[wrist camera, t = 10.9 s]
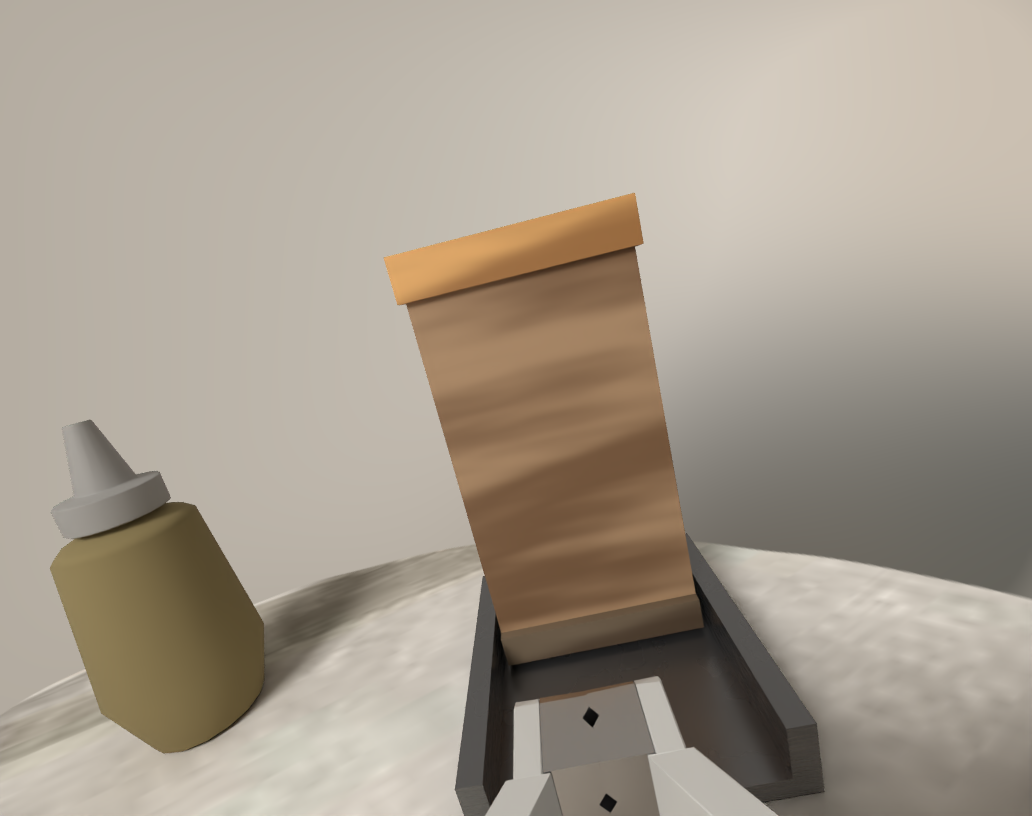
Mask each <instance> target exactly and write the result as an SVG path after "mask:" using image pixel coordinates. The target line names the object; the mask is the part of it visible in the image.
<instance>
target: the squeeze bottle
mask: <svg viewBox="0 0 1032 816" xmlns="http://www.w3.org/2000/svg"><path fill="white" fill-rule="evenodd" d="M62 431H63V437H64V443H65V449H66V454H67V460H68V466H69V471H70V477H71V483H72V488H73V494H74V497H72V498H69V499H67V500H65V501H63V502H61V503H59V504H58V505H56V506H54V507H53V509H52V510H51V514H52V516H53V518H54V519H55V522H56V524H57V526H58V528H59V530H60V532H61V534H62V536H63V538H68V539H74V540H73V541H71V542H70V543H69V544H67V545H66V546H65V547H63V548H62V549H61V550H60V552H59V553H58V555H57V556H56V558H55V560H54V561H53V563H52V565H51V567H50V570H51V573H52V575H53V578H54V581H55V584H56V587H57V590H58V592H59V595H60V598H61V601H62V604H63V607H64V609H65V612H66V615H67V618H68V620H69V624H70V626H71V629H72V632H73V635H74V637H75V640H76V643H77V646H78V649H79V652H80V654H81V657H82V660H83V663H84V666H85V669H86V671H87V674H88V677H89V680H90V683H91V685H92V688H93V691H94V694H95V697H96V700H97V702H98V705H99V708H100V711H101V714H103V715H104V716H106V717H107V718H109V719H111V720H112V721H114V722H115V723H117V724H118V725H120V726H121V727H123V728H124V729H126V730H127V731H129V732H130V733H132V734H133V735H135V736H136V737H138V738H139V739H141V740H142V741H144V742H145V743H147V744H148V745H150V746H151V747H153V748H155V749H156V750H158V751H160V752H162V753H172V752H181V751H184V750H187V749H189V748H192V747H194V746H196V745H199V744H201V743H204V742H206V741H207V740H209V739H211V738H212V737H214V736H215V735H217V734H218V733H220V732H221V731H223V730H224V729H226V728H228V727H229V726H230V725H231V724H232V723H233V722H235V721H236V720H237V719H238V718H239V717H240V716H241V715H242V714H243V713H244V712H246V711H247V710H248V709H249V707H250V706H251V705H252V703H253V702H254V700H255V699H256V698H257V696H258V695H259V694H260V692H261V689H262V685H263V682H264V623H263V621H262V619H261V617H260V615H259V614H258V612H257V610H256V608H255V607H254V605H253V603H252V602H251V600H250V598H249V597H248V595H247V593H246V591H245V590H244V588H243V586H242V585H241V583H240V581H239V579H238V578H237V576H236V574H235V572H234V571H233V569H232V567H231V566H230V564H229V562H228V560H227V559H226V557H225V555H224V554H223V552H222V550H221V548H220V547H219V545H218V543H217V542H216V540H215V538H214V537H213V535H212V533H211V532H210V530H209V528H208V526H207V524H206V523H205V521H204V519H203V518H202V516H201V514H200V513H199V511H198V509H197V507H196V506H195V505H192V504H188V503H184V502H171V503H166V502H167V501H168V500H170V498H171V497H170V494H169V492H168V490H167V488H166V486H165V483H164V481H163V479H162V476H161V474H160V472H158V471H152V472H146V473H141V474H135V473H134V472H133V471H132V469H131V468H130V467H129V466H128V464H127V463H126V462H125V461H124V459H123V458H122V457H121V456H120V455H119V453H118V452H117V451H116V450H115V448H114V447H113V446H112V445H111V443H110V442H109V441H108V440H107V438H106V437H105V436H104V435H103V434H102V432H101V431H100V430H99V429H98V427H97V426H96V425H95V424H94V423H93V422H92V420H87V421H84V422H79V423H76V424H72V425H69V426H65V427H62Z"/></svg>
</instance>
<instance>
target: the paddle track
mask: <svg viewBox="0 0 1032 816" xmlns="http://www.w3.org/2000/svg"><path fill="white" fill-rule="evenodd" d="M685 536H686V542H687V547H688V553H689V559H690V564H691V570H692V576H693V581H694V587H695V593H696V595H697V597H698V599H699V601H700V607H701V613H702V619H703V625H704V627H703V628H698V629H693V630H688V631H683V632H677V633H672V634H667V635H662V636H657V637H652V638H647V639H642V640H637V641H632V642H627V643H622V644H617V645H612V646H607V647H602V648H597V649H592V650H586V651H581V652H576V653H571V654H566V655H561V656H556V657H551V658H546V659H541V660H536V661H531V662H526V663H521V664H516V665H511V666H509V665H508V662H507V658H506V655H505V652H504V648H503V645H502V641H501V630H500V626H499V623H498V619H497V616H496V612H495V609H494V606H493V602H492V599H491V595H490V592H489V588H488V585H487V581H486V578H485V576H483V579H482V587H481V594H480V602H479V610H478V617H477V625H476V633H475V640H474V648H473V655H472V663H471V671H470V678H469V686H468V694H467V701H466V709H465V717H464V724H463V732H462V740H461V747H460V755H459V762H458V770H457V778H456V785H455V791H456V794H457V796H458V799H459V802H460V805H461V808H462V811H463V814H464V816H485V815H486V813H487V812H488V810H489V808H490V807H491V805H492V803H493V802H494V800H495V798H496V797H497V795H498V793H499V792H500V790H501V788H502V787H503V785H504V783H505V781H507V780H512V779H513V753H514V707H515V703H516V702H522V701H529V700H535V699H540V698H544V697H550V696H556V695H562V694H569V693H575V692H581V691H586V690H591V689H596V688H601V687H606V686H611V685H616V684H621V683H626V682H631V681H633V682H634V681H635V680H640V679H645V678H650V677H655V676H658V677H659V678H660V679H661V682H662V684H663V687H664V690H665V692H666V695H667V698H668V700H669V703H670V706H671V708H672V711H673V714H674V716H675V719H676V722H677V724H678V727H679V730H680V732H681V735H682V738H683V740H684V743H685V746H686V748H692V747H695V748H696V749H697V750H698V751H700V752H701V753H702V754H703V755H705V756H706V757H707V758H708V759H710V760H711V761H712V762H713V763H714V764H716V765H717V766H718V767H719V768H721V769H722V770H723V771H724V772H726V773H727V774H728V775H729V776H730V777H732V778H733V779H734V780H735V781H737V782H738V783H739V784H740V785H741V786H743V787H744V788H745V789H746V790H748V791H749V792H750V793H751V794H753V795H754V796H755V797H756V798H757V799H759V800H760V801H761V802H766V801H772V800H778V799H784V798H789V797H795V796H801V795H807V794H812V793H818V792H824V784H823V776H822V767H821V759H820V750H819V741H818V733H817V724H816V722H815V721H814V719H813V718H812V716H811V715H810V713H809V712H808V710H807V709H806V707H805V706H804V705H803V703H802V702H801V700H800V699H799V697H798V696H797V694H796V693H795V691H794V690H793V688H792V687H791V685H790V684H789V682H788V681H787V680H786V678H785V677H784V675H783V674H782V672H781V671H780V669H779V668H778V666H777V665H776V663H775V662H774V660H773V659H772V658H771V656H770V655H769V653H768V652H767V650H766V649H765V647H764V646H763V644H762V643H761V641H760V640H759V638H758V637H757V636H756V634H755V633H754V631H753V630H752V628H751V627H750V625H749V624H748V622H747V621H746V619H745V618H744V616H743V615H742V613H741V612H740V611H739V609H738V608H737V606H736V605H735V603H734V602H733V600H732V599H731V597H730V596H729V594H728V593H727V591H726V590H725V589H724V587H723V586H722V584H721V583H720V581H719V580H718V578H717V577H716V575H715V574H714V572H713V571H712V569H711V568H710V567H709V565H708V564H707V562H706V561H705V559H704V558H703V556H702V555H701V553H700V552H699V550H698V549H697V547H696V546H695V545H694V543H693V542H692V540H691V539H690V537H689V536H688V535H687V533H686V534H685Z"/></svg>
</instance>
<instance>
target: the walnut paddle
mask: <svg viewBox="0 0 1032 816" xmlns="http://www.w3.org/2000/svg"><path fill="white" fill-rule="evenodd" d="M641 244H643V237H642V231H641V225H640V219H639V214H638V208H637V202H636V196H635V193H632V194H628V195H624V196H620V197H616V198H612V199H608V200H605V201H601V202H597V203H593V204H589V205H585V206H581V207H577V208H574V209H570V210H566V211H562V212H558V213H554V214H551V215H547V216H543V217H539V218H535V219H531V220H527V221H524V222H520V223H516V224H512V225H508V226H504V227H500V228H496V229H492V230H488V231H485V232H481V233H477V234H473V235H469V236H465V237H461V238H458V239H454V240H450V241H446V242H442V243H438V244H435V245H430V246H427V247H423V248H419V249H415V250H411V251H407V252H403V253H400V254H396V255H392V256H388V257H384V261H385V264H386V267H387V270H388V274H389V277H390V281H391V284H392V288H393V291H394V295H395V298H396V301H397V305H403V304H406V305H407V309H408V312H409V315H410V319H411V322H412V326H413V329H414V333H415V336H416V340H417V343H418V346H419V350H420V353H421V357H422V360H423V364H424V367H425V371H426V374H427V378H428V381H429V385H430V388H431V391H432V395H433V398H434V402H435V405H436V409H437V412H438V416H439V419H440V422H441V426H442V429H443V433H444V436H445V440H446V443H447V447H448V450H449V454H450V457H451V461H452V464H453V467H454V471H455V474H456V478H457V481H458V484H459V488H460V492H461V495H462V498H463V502H464V505H465V509H466V512H467V516H468V519H469V523H470V526H471V530H472V533H473V536H474V540H475V543H476V547H477V550H478V554H479V557H480V561H481V564H482V568H483V571H484V574H485V578H486V581H487V585H488V588H489V592H490V595H491V599H492V602H493V606H494V609H495V612H496V616H497V619H498V623H499V626H500V630H501V641H502V645H503V648H504V652H505V655H506V658H507V662H508V665H509V666H511V665H516V664H521V663H526V662H531V661H536V660H541V659H546V658H551V657H556V656H561V655H566V654H571V653H576V652H581V651H586V650H592V649H597V648H602V647H607V646H612V645H617V644H622V643H627V642H632V641H637V640H642V639H647V638H652V637H657V636H662V635H667V634H672V633H677V632H683V631H688V630H693V629H698V628H703V627H704V625H703V619H702V613H701V607H700V601H699V599H698V597H697V595H696V593H695V587H694V581H693V576H692V570H691V564H690V559H689V553H688V547H687V542H686V536H685V530H684V525H683V519H682V513H681V507H680V502H679V496H678V491H677V484H676V479H675V474H674V467H673V462H672V456H671V451H670V444H669V440H668V433H667V427H666V422H665V416H664V410H663V404H662V399H661V393H660V387H659V382H658V376H657V370H656V365H655V359H654V354H653V347H652V342H651V337H650V330H649V325H648V319H647V313H646V307H645V302H644V296H643V291H642V285H641V279H640V273H639V268H638V262H637V256H636V250H635V246H638V245H641Z"/></svg>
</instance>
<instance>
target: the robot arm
mask: <svg viewBox="0 0 1032 816" xmlns="http://www.w3.org/2000/svg"><path fill="white" fill-rule="evenodd" d="M485 816H778V815H777V814H776V813H775V812H773V811H772V810H771V809H770V808H769V807H767V806H766V805H765V804H764V803H762V802H761V801H760V800H759V799H757V798H756V797H755V796H754V795H753V794H751V793H750V792H749V791H748V790H746V789H745V788H744V787H743V786H741V785H740V784H739V783H738V782H737V781H735V780H734V779H733V778H732V777H730V776H729V775H728V774H727V773H726V772H724V771H723V770H722V769H721V768H719V767H718V766H717V765H716V764H714V763H713V762H712V761H711V760H710V759H708V758H707V757H706V756H705V755H703V754H702V753H701V752H700V751H698V750H697V749H696V748H695V747H692V748H686V746H685V743H684V740H683V738H682V735H681V732H680V730H679V727H678V724H677V722H676V719H675V716H674V714H673V711H672V708H671V706H670V703H669V700H668V698H667V695H666V692H665V690H664V687H663V684H662V682H661V679H660V678H659V677H658V676H655V677H650V678H645V679H640V680H635V681H634V682H633V681H631V682H626V683H621V684H616V685H611V686H606V687H601V688H596V689H591V690H586V691H581V692H575V693H569V694H562V695H556V696H550V697H544V698H540V699H535V700H529V701H522V702H516V703H515V707H514V753H513V779H512V780H507V781H505V783H504V785H503V787H502V788H501V790H500V792H499V793H498V795H497V797H496V798H495V800H494V802H493V803H492V805H491V807H490V808H489V810H488V812H487V813H486V815H485Z"/></svg>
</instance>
